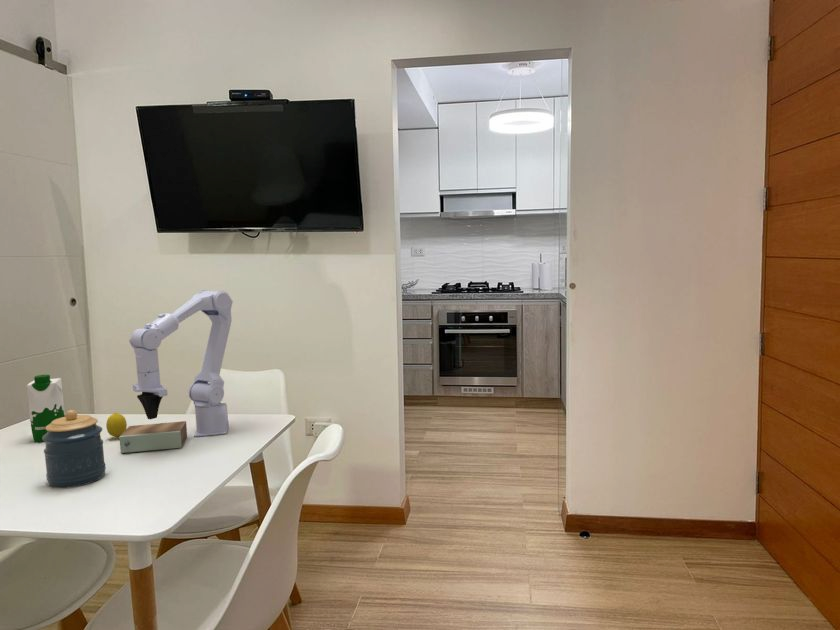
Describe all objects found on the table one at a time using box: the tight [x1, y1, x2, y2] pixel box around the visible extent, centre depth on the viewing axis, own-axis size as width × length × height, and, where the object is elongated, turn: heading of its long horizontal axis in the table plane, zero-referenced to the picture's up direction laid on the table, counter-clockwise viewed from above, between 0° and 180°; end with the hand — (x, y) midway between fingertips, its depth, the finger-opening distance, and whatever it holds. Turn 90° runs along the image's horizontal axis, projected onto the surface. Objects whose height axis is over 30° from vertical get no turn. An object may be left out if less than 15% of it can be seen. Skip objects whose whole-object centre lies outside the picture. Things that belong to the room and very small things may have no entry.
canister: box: [42, 409, 107, 489], centre depth 150 cm, size 13×13×18 cm
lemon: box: [105, 412, 128, 439], centre depth 184 cm, size 6×6×8 cm
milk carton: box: [26, 374, 66, 444], centre depth 186 cm, size 9×9×20 cm
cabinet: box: [121, 420, 188, 454], centre depth 176 cm, size 16×10×5 cm, turn 103°
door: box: [118, 431, 183, 454], centre depth 170 cm, size 16×2×5 cm, turn 102°
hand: (152, 418), depth 171 cm, fingers closed
